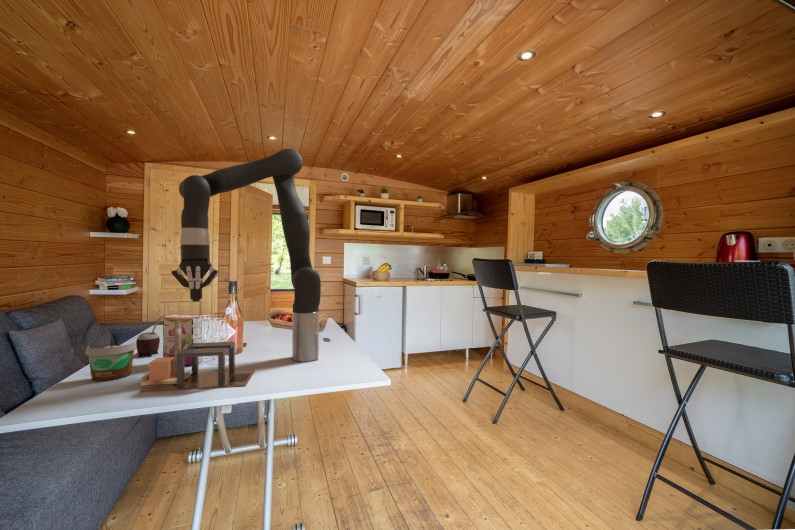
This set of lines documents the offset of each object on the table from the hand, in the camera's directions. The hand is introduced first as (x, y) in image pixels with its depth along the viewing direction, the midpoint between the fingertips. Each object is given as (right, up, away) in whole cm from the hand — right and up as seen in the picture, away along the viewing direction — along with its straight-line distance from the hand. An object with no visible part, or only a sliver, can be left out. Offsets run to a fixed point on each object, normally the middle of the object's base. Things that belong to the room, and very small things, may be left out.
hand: (196, 301), depth 104 cm
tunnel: (+3, -24, -1) cm, 24 cm away
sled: (-7, -23, -3) cm, 24 cm away
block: (-8, -22, -3) cm, 23 cm away
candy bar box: (-13, -23, +15) cm, 31 cm away
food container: (-26, -24, -1) cm, 35 cm away
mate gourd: (-31, -23, +25) cm, 46 cm away
